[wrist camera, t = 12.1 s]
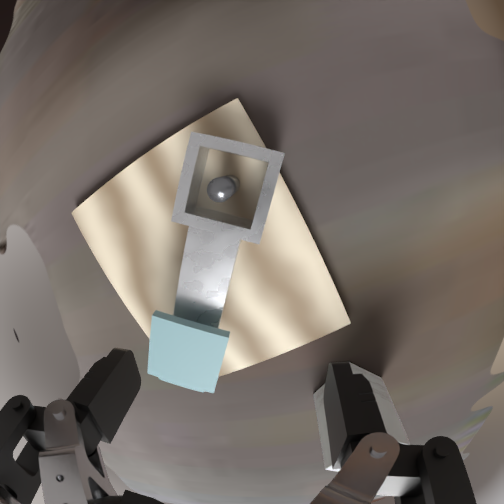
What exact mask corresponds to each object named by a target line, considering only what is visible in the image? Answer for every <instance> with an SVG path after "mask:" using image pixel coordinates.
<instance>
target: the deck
mask: <svg viewBox="0 0 504 504" xmlns="http://www.w3.org/2000/svg"><path fill="white" fill-rule="evenodd" d="M191 132H196V133H201V134H206V135H211V136H216V137H221V138H225V139H230V140H234V141H239V142H243V143H247V144H251V145H255V146H259V147H263V148H266V147H265V145H264V143H263V141H262V139H261V138H260V136H259V134H258V132H257V131H256V129H255V127H254V125H253V124H252V122H251V120H250V118H249V117H248V115H247V113H246V112H245V110H244V108H243V106H242V105H241V103H240V101H239V100H238V98H237V99H235V100H233V101H231V102H229V103H227V104H225V105H223V106H222V107H220V108H218V109H216V110H214V111H212V112H211V113H209V114H207V115H205V116H204V117H202V118H200V119H199V120H197V121H195V122H194V123H192V124H190V125H189V126H187V127H185V128H184V129H182V130H181V131H179V132H177V133H176V134H174V135H173V136H171V137H170V138H168V139H166V140H165V141H163V142H162V143H160V144H159V145H157V146H156V147H155V148H153V149H152V150H150V151H149V152H147V153H146V154H144V155H143V156H142V157H140V158H139V159H137V160H136V161H135V162H133V163H132V164H131V165H129V166H128V167H126V168H125V169H124V170H122V171H121V172H120V173H119V174H117V175H116V176H115V177H113V178H112V179H111V180H110V181H108V182H107V183H106V184H105V185H103V186H102V187H101V188H100V189H98V190H97V191H96V192H95V193H94V194H92V195H91V196H90V197H89V198H88V199H86V200H85V201H84V202H83V203H82V204H81V205H80V206H78V207H77V208H76V209H75V210H74V211H73V212H72V215H73V217H74V219H75V221H76V223H77V225H78V226H79V228H80V230H81V232H82V234H83V236H84V238H85V240H86V241H87V243H88V245H89V247H90V248H91V250H92V252H93V254H94V255H95V257H96V259H97V261H98V262H99V264H100V266H101V267H102V269H103V271H104V272H105V274H106V276H107V277H108V279H109V280H110V282H111V284H112V285H113V287H114V288H115V290H116V291H117V293H118V294H119V296H120V297H121V299H122V300H123V302H124V303H125V305H126V306H127V308H128V309H129V311H130V312H131V314H132V315H133V317H134V318H135V319H136V321H137V322H138V324H139V325H140V326H141V328H142V329H143V330H144V332H145V333H146V335H147V336H148V337H149V339H150V331H151V320H152V315H153V313H154V312H155V310H157V311H161V312H164V313H167V314H170V315H173V314H174V307H175V300H176V294H177V288H178V282H179V276H180V270H181V265H182V259H183V254H184V248H185V243H186V238H187V233H188V228H189V226H187V225H183V224H179V223H176V222H172V221H171V219H172V214H173V209H174V204H175V199H176V194H177V189H178V185H179V180H180V175H181V171H182V167H183V162H184V158H185V154H186V150H187V146H188V142H189V138H190V134H191ZM267 167H268V163H267V162H264V161H260V160H256V159H252V158H248V157H244V156H240V155H236V154H232V153H227V152H223V151H218V150H214V149H210V150H209V154H208V158H207V162H206V166H205V170H204V174H203V178H202V182H201V187H200V191H199V195H198V200H197V204H196V206H199V207H203V208H207V209H211V210H215V211H219V212H223V213H227V214H230V215H234V216H238V217H242V218H246V219H249V220H253V219H254V215H255V211H256V208H257V204H258V200H259V196H260V193H261V189H262V185H263V182H264V178H265V174H266V171H267ZM226 175H234V176H236V177H237V178H238V179H239V181H240V188H239V190H238V191H237V192H236V193H235V194H233V195H232V196H231V197H230V198H229V199H227V200H226V201H224V202H215V201H213V200H211V199H210V198H209V196H208V194H207V186H208V184H209V182H210V181H211V180H213V179H214V178H218V177H222V176H226ZM349 324H351V322H350V320H349V317H348V315H347V313H346V310H345V308H344V306H343V303H342V301H341V299H340V296H339V294H338V292H337V290H336V287H335V285H334V283H333V281H332V278H331V276H330V274H329V272H328V270H327V267H326V265H325V263H324V261H323V259H322V257H321V254H320V252H319V250H318V248H317V246H316V244H315V242H314V240H313V238H312V236H311V233H310V231H309V229H308V227H307V225H306V223H305V221H304V219H303V217H302V215H301V213H300V211H299V209H298V207H297V205H296V203H295V201H294V199H293V197H292V195H291V193H290V191H289V190H288V188H287V186H286V184H285V182H284V180H283V178H282V176H281V174H280V172H279V176H278V180H277V183H276V187H275V190H274V194H273V198H272V201H271V205H270V208H269V212H268V216H267V219H266V223H265V226H264V230H263V234H262V237H261V241H260V244H255V243H252V242H248V241H244V240H241V243H240V247H239V251H238V255H237V259H236V262H235V266H234V270H233V274H232V278H231V282H230V286H229V290H228V294H227V298H226V302H225V306H224V310H223V314H222V318H221V322H220V326H219V329H222V330H226V331H230V336H229V340H228V343H227V347H226V350H225V354H224V358H223V361H222V365H221V368H220V372H219V376H222V375H225V374H228V373H231V372H234V371H237V370H240V369H243V368H246V367H248V366H251V365H254V364H257V363H259V362H262V361H265V360H267V359H270V358H272V357H275V356H278V355H280V354H283V353H285V352H288V351H290V350H292V349H295V348H297V347H300V346H302V345H304V344H307V343H309V342H311V341H314V340H316V339H318V338H320V337H323V336H325V335H327V334H329V333H332V332H334V331H336V330H338V329H340V328H342V327H344V326H346V325H349ZM219 376H218V377H219Z"/></svg>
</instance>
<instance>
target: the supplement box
mask: <svg viewBox="0 0 504 504" xmlns="http://www.w3.org/2000/svg"><path fill="white" fill-rule="evenodd" d="M349 363H350V362H349ZM350 366H351V369H352V372H353V374H361V373H362V374H363V375H364V376H365V378H366V379H367V380H368V381H369V382H370V384H371V387H372V390H373V394H374V396H375V398H376V402H377V404H378V407H379V410H380V413H381V416H382V419H383V422H384V426H385V429H386V431H387V433H388V434H389V435H391V436H393V437H394V438H395V439H396V440H397V441H398V443H401V444H406V445H410V442H409V440H408V437H407V435H406V432H405V430H404V427H403V425H402V423H401V420H400V418H399V416H398V413H397V411H396V409H395V406H394V404H393V402H392V400H391V397H390V395H389V393H388V391H387V388H386V386H385V384H384V382H383V379H382V378H381V377H379V376H377V375H375V374H373V373H371V372H369V371H367V370H364V369H362V368H360V367H358V366H356V365H354V364H352V363H350ZM324 387H325V384H324V385H323V386H322V387H321V388H320V389H318V390H317V391H316V392H315V393H314V394H313V397H314V403H315V409H316V415H317V421H318V427H319V433H320V440H321V446H322V452H323V459H324V466H325V469H326V470H332V471H338V472H339V471H340V469H332V461H331V453H330V445H329V437H328V430H327V423H326V416H325V409H324V400H323V396H324Z"/></svg>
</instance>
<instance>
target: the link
mask: <svg viewBox="0 0 504 504" xmlns="http://www.w3.org/2000/svg"><path fill="white" fill-rule="evenodd" d="M210 149H214V150H218V151H223V152H227V153H232V154H236V155H240V156H244V157H248V158H252V159H256V160H260V161H264V162H267V163H268V167H267V171H266V174H265V178H264V182H263V185H262V189H261V193H260V196H259V200H258V204H257V208H256V211H255V215H254V219H253V220H249V219H246V218H242V217H238V216H234V215H230V214H227V213H223V212H219V211H215V210H211V209H207V208H203V207H199V206H196V204H197V200H198V195H199V191H200V187H201V182H202V178H203V174H204V170H205V166H206V162H207V158H208V154H209V150H210ZM284 154H285V153H282V152H278V151H274V150H271V149H267V148H263V147H259V146H255V145H251V144H247V143H243V142H239V141H234V140H230V139H225V138H221V137H216V136H211V135H206V134H201V133H196V132H191V134H190V138H189V142H188V146H187V150H186V154H185V158H184V162H183V167H182V171H181V175H180V180H179V185H178V189H177V194H176V199H175V204H174V209H173V214H172V219H171V221H172V222H176V223H179V224H183V225H187V226H189V228H188V233H187V238H186V243H185V248H184V254H183V259H182V265H181V270H180V276H179V282H178V288H177V294H176V300H175V307H174V314H173V316H177V317H180V318H183V319H187V320H190V321H193V322H197V323H200V324H204V325H207V326H211V327H215V328H218V329H219V326H220V322H221V318H222V314H223V310H224V306H225V302H226V298H227V294H228V290H229V286H230V282H231V278H232V274H233V270H234V266H235V262H236V259H237V255H238V251H239V247H240V243H241V240H244V241H248V242H252V243H255V244H260V241H261V237H262V234H263V230H264V226H265V223H266V219H267V216H268V212H269V208H270V205H271V201H272V198H273V194H274V190H275V187H276V183H277V180H278V176H279V172H280V169H281V165H282V162H283V158H284Z"/></svg>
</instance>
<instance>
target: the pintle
mask: <svg viewBox="0 0 504 504" xmlns="http://www.w3.org/2000/svg"><path fill="white" fill-rule="evenodd" d="M239 188H240V181H239V179H238V178H237V177H236V176H234V175H226V176H222V177H218V178H214V179H213V180H211V181H210V182H209V184H208V186H207V194H208V196H209V198H210V199H211V200H213V201H215V202H224V201H226V200H227V199H229V198H230V197H231V196H232V195H233V194H235V193H236V192H237V191H238V190H239Z"/></svg>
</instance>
